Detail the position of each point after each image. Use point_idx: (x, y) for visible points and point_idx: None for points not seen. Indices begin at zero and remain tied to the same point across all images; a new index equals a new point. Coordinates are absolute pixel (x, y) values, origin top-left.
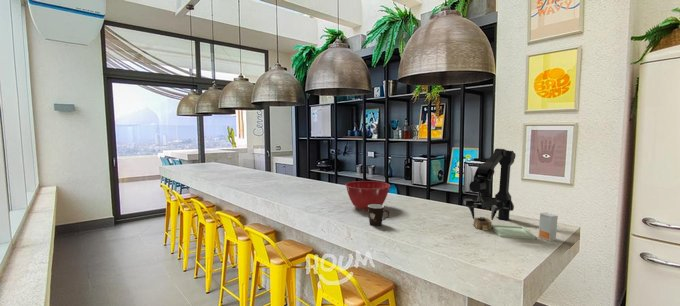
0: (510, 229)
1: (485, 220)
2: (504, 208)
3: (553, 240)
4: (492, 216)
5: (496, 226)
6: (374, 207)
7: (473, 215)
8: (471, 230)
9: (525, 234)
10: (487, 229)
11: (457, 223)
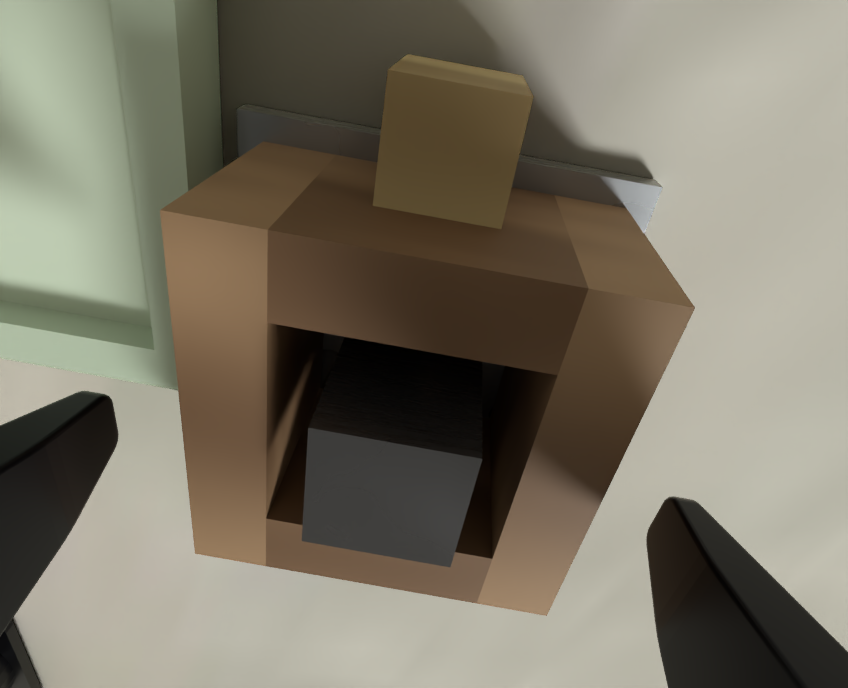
0: None
1: (331, 383)
2: None
3: None
4: (6, 468)
5: (87, 320)
6: None
7: (770, 600)
8: (808, 144)
9: None
10: (359, 156)
11: (771, 560)
